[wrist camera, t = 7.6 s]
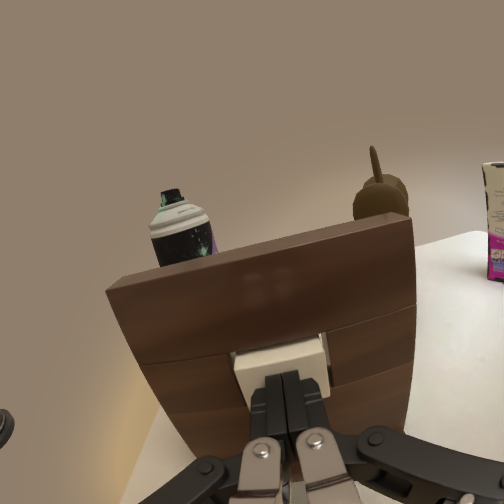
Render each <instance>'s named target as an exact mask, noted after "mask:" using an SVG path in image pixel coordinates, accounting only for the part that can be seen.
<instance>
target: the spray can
mask: <svg viewBox="0 0 504 504" xmlns="http://www.w3.org/2000/svg"><path fill="white" fill-rule="evenodd" d="M161 198H162V202H163V203H161V208H158V211H160V212H159V213H158V214H157V216H156V217H155V218H154V220H153V221H152V223H151V224H149V225H148V226H149V228H150V229H151V232H150V237H151V240H152V243H153V247H154V250H155V253H156V256H157V259H158V262H159V265H160V267H164V266H168V265H172V264H176V263H180V262H184V261H188V260H192V259H196V258H200V257H205V256H209V255H213V254H217V253H218V250H217V247H216V243H215V240H214V236H213V233H212V229H211V225H210V222H209V218H208V216H207V215H206V214H205V208H200V207H197V206H195V205H192V204H188V200H184V197H181V194H180V191H179V189H171V190H167V191H164V192H161Z"/></svg>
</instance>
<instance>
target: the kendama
mask: <svg viewBox="0 0 504 504" xmlns="http://www.w3.org/2000/svg"><path fill="white" fill-rule="evenodd" d="M370 157H371V163H372V168H373V174H374V177H371V178H370V179H369V180H368V181H367V182H365V184H364V186H363V189H362V190H360V191H359V192H358V193H357V194H356V197H355V200H354V202H353V217H354V220H359V219H364V218H368V217H372V216H376V215H381V214H385V213H389V212H393V213H397V214H400V215H404V216H407V217H409V207H408V194H407V191H406V188H405V185H404V184H403V183H402V182H401V180H400V179H399V178H397V177H394V176H392V175H388V174H386V175H385V174H382V172H381V168H380V164H379V160H378V157H377V153H376V150H375V148H374V147H373V146H370Z"/></svg>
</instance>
